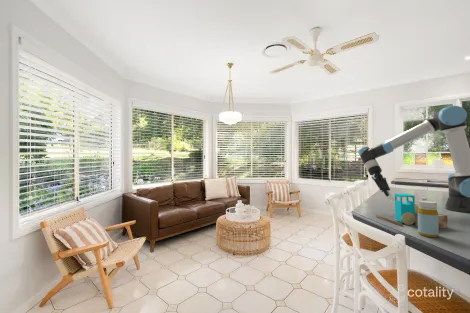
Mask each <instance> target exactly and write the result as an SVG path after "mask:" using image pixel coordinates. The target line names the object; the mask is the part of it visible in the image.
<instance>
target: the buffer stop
mask: <svg viewBox="0 0 470 313" xmlns="http://www.w3.org/2000/svg"><path fill="white" fill-rule="evenodd" d="M438 226H439V229H447V228H448V215H447V214H443V213H438ZM415 228H416V229H418V215H416V223H415Z"/></svg>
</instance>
